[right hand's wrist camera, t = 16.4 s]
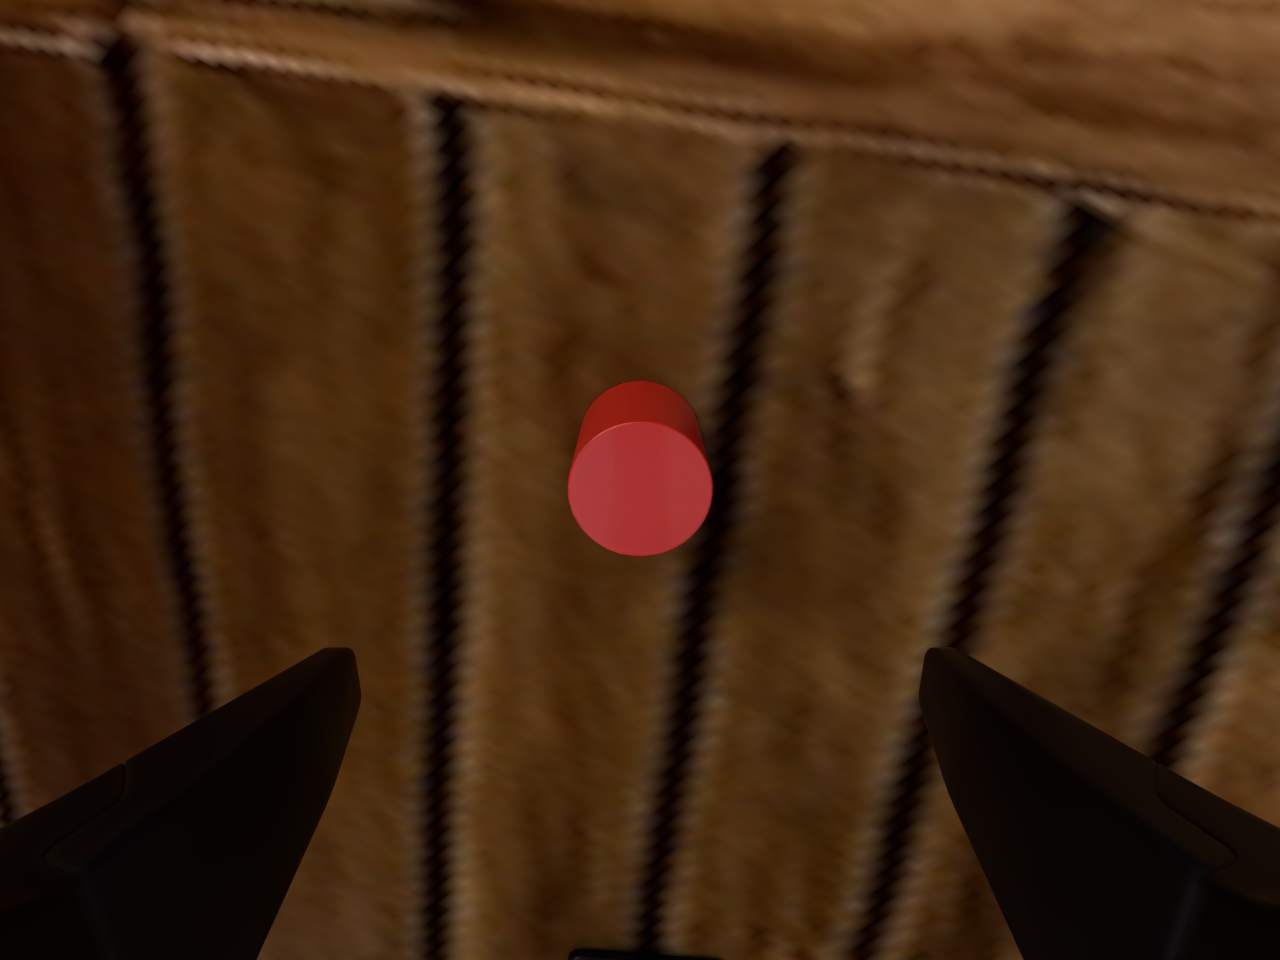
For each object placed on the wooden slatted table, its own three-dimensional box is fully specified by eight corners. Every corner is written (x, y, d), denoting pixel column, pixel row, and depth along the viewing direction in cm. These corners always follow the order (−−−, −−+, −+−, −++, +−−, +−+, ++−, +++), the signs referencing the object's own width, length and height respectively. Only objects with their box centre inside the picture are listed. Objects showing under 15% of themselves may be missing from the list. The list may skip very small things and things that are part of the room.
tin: (679, 363, 22) (688, 401, 18) (714, 474, 23) (730, 533, 19) (563, 402, 23) (546, 448, 18) (603, 509, 24) (596, 574, 20)
